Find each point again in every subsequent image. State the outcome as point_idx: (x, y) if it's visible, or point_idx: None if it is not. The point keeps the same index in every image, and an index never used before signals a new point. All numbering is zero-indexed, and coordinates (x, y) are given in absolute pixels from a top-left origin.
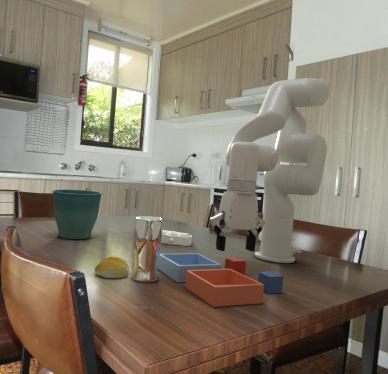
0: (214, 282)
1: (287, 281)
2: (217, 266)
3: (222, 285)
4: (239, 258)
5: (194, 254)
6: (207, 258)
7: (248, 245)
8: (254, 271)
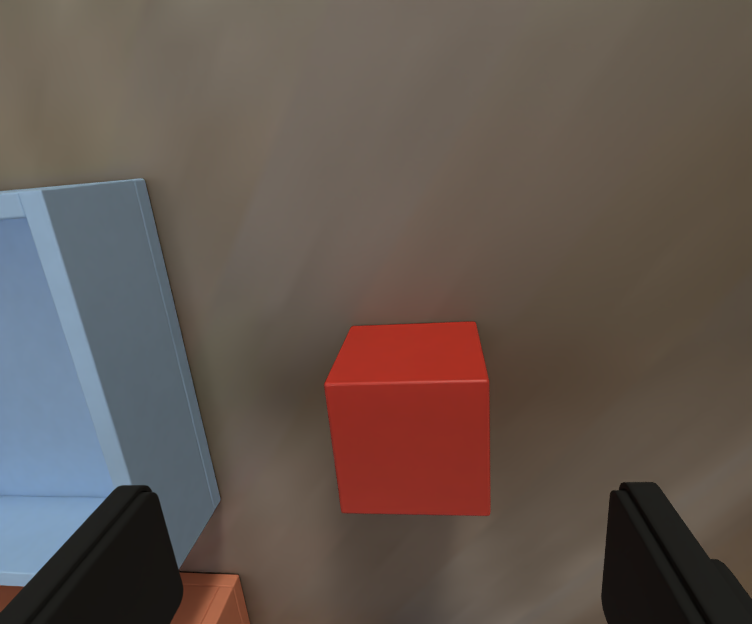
0: None
1: None
2: None
3: None
4: (480, 428)
5: (7, 218)
6: (99, 419)
7: (634, 589)
8: (671, 333)
